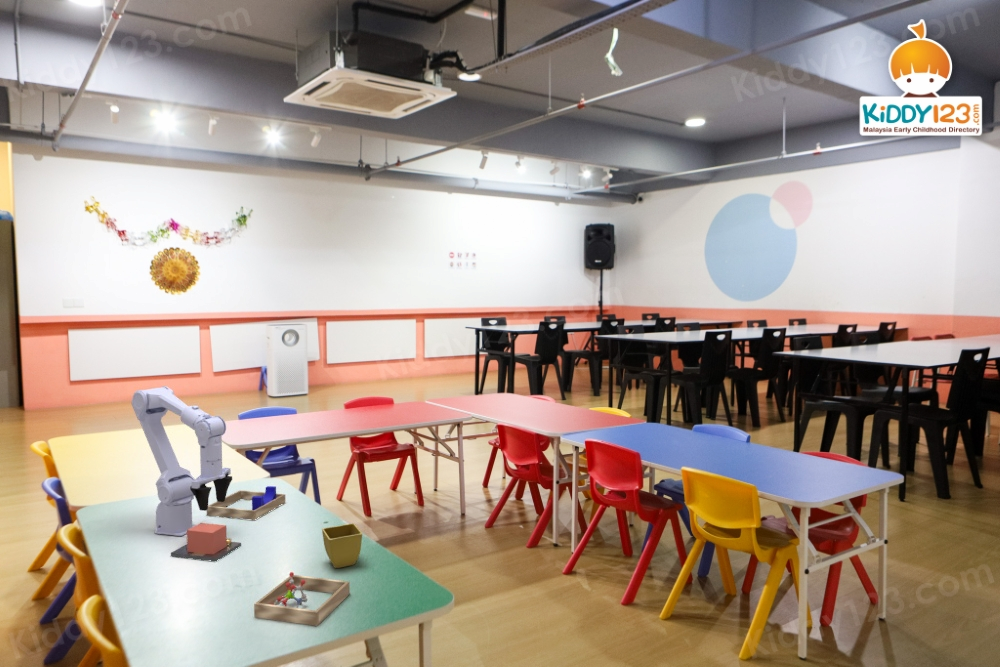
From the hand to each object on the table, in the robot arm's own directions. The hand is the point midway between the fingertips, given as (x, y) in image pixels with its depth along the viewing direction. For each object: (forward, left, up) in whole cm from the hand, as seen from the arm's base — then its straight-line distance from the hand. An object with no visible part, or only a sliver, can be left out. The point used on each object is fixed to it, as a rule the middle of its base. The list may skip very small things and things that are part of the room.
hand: (212, 505), depth 190 cm
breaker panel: (+4, -8, -10) cm, 13 cm away
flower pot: (+44, -6, -10) cm, 46 cm away
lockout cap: (+5, -9, -9) cm, 14 cm away
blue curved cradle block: (-1, +26, -10) cm, 28 cm away
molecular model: (+43, -32, -10) cm, 55 cm away
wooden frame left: (-6, +25, -10) cm, 28 cm away
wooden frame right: (+46, -29, -10) cm, 55 cm away
